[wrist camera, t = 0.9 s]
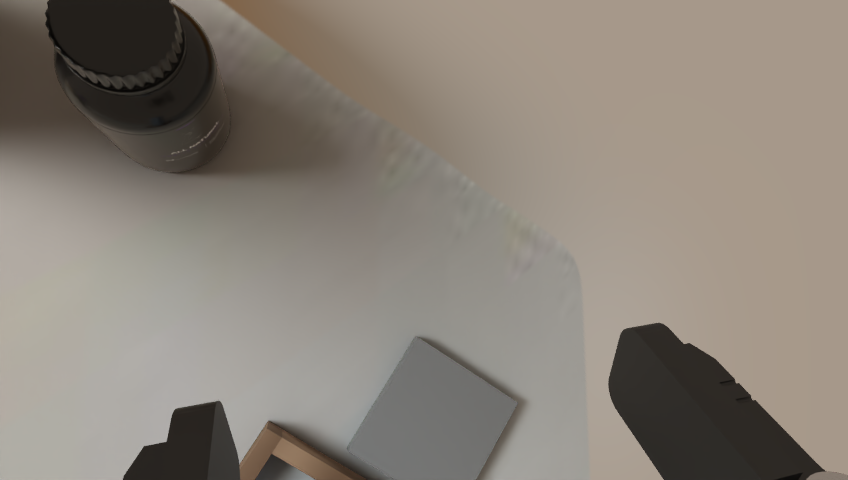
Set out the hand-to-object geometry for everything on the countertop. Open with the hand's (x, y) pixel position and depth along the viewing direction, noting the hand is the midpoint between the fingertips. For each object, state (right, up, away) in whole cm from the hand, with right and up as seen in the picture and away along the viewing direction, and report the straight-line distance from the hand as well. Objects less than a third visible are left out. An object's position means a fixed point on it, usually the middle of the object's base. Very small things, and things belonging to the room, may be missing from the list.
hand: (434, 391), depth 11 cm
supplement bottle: (-16, +10, +22) cm, 29 cm away
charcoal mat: (0, -9, +24) cm, 25 cm away
